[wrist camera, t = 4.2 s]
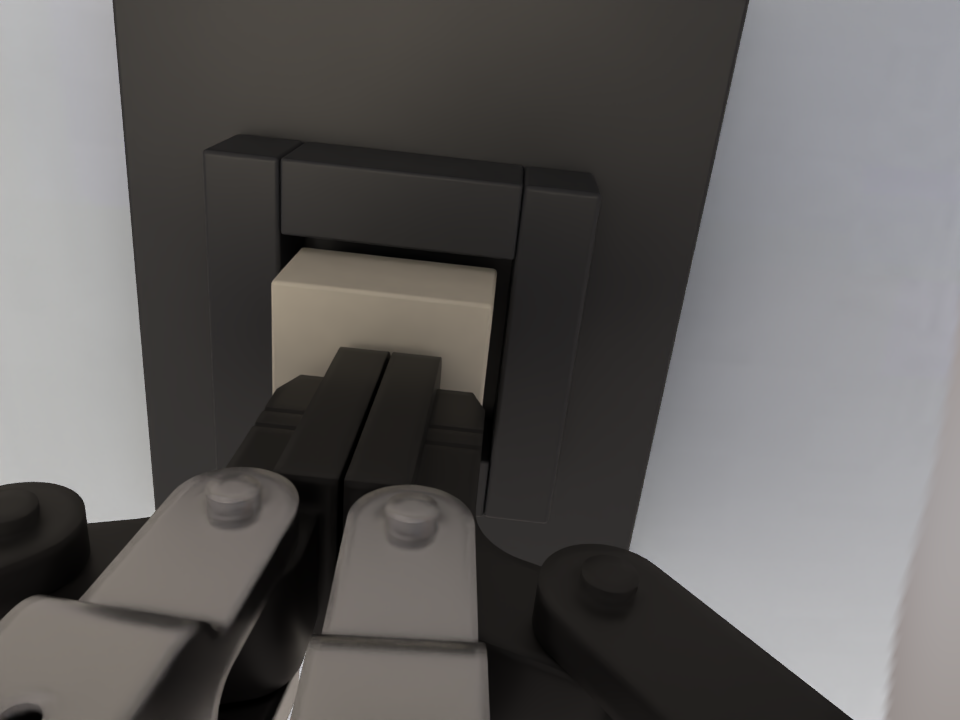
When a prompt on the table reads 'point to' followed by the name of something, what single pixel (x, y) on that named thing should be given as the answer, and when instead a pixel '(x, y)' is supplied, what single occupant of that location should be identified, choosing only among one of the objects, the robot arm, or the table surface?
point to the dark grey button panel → (430, 213)
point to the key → (381, 314)
